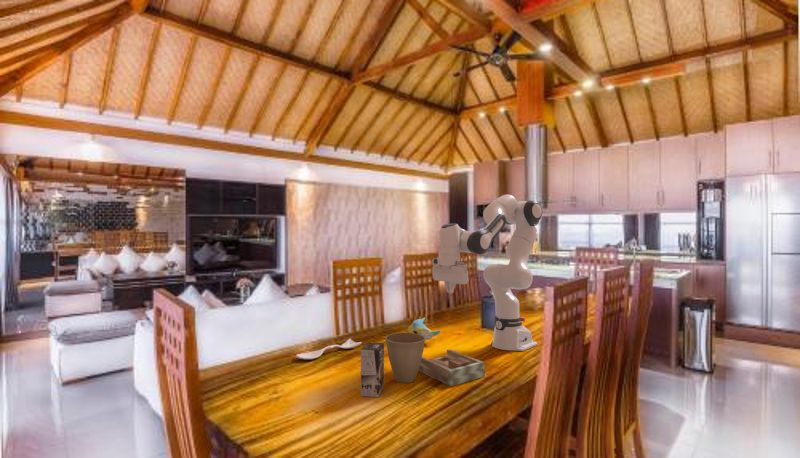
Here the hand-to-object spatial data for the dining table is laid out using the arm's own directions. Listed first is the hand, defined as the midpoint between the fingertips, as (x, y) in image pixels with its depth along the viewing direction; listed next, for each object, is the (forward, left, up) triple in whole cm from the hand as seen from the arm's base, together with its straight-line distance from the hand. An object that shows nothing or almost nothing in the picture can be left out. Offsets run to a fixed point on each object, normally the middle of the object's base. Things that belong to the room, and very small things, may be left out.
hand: (450, 292), depth 181 cm
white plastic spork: (+41, -38, -29) cm, 63 cm away
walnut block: (+12, +19, -26) cm, 35 cm away
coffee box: (+46, +12, -29) cm, 56 cm away
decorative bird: (-12, -32, -29) cm, 45 cm away
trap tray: (+12, +13, -29) cm, 34 cm away
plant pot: (+30, +9, -29) cm, 43 cm away
